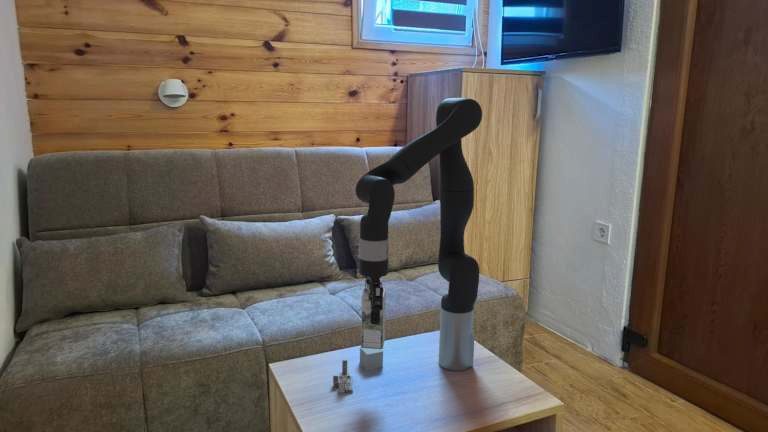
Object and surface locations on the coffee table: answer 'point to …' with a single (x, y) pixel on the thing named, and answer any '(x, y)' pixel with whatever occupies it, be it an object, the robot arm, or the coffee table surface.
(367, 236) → the robot arm
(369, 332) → the syrup box
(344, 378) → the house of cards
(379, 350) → the grey block
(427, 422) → the coffee table surface
